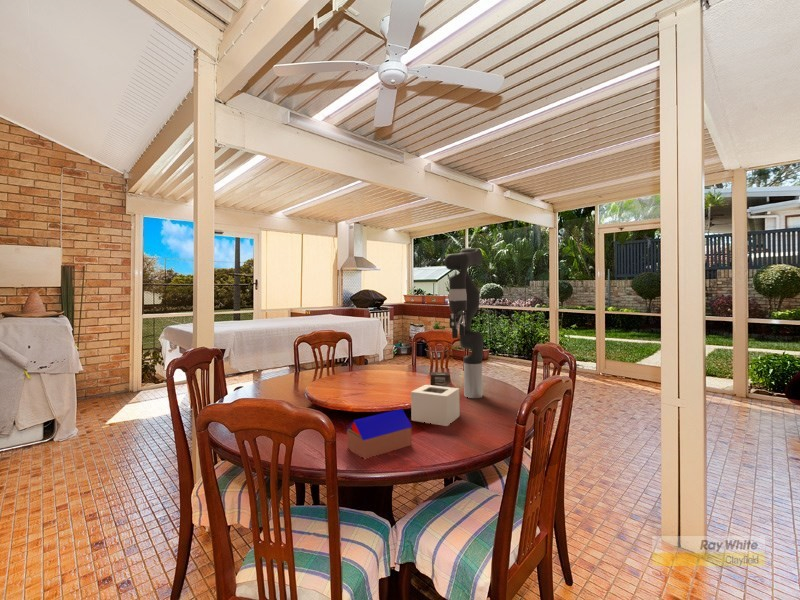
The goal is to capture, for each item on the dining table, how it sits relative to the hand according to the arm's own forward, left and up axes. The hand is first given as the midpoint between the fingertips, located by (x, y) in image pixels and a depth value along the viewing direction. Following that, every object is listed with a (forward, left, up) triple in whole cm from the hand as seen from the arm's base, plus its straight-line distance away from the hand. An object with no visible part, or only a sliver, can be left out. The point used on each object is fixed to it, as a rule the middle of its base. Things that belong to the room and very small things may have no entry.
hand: (458, 336), depth 170 cm
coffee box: (-4, -11, -34) cm, 36 cm away
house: (+46, -12, -34) cm, 59 cm away
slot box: (+10, -7, -34) cm, 36 cm away
